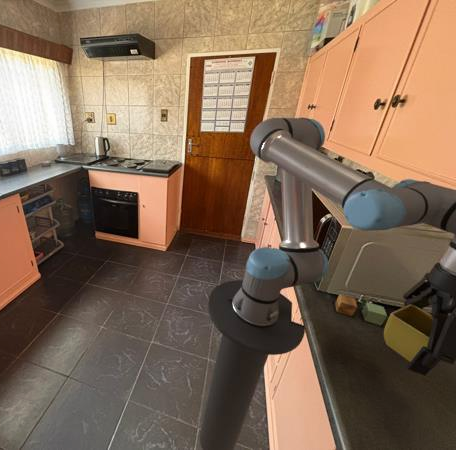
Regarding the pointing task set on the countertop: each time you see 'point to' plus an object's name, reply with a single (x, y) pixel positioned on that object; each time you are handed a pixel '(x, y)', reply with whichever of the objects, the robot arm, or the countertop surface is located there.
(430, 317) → the flower pot
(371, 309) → the green block
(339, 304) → the oak block
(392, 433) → the countertop surface
